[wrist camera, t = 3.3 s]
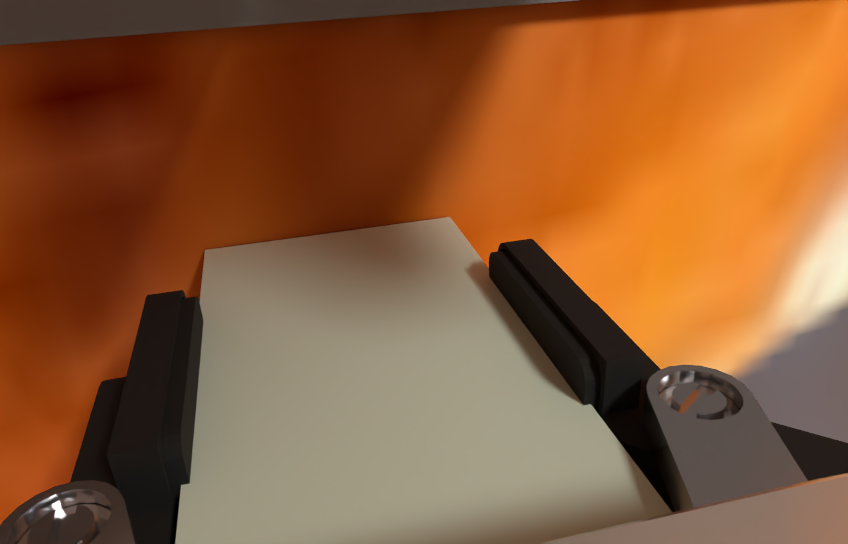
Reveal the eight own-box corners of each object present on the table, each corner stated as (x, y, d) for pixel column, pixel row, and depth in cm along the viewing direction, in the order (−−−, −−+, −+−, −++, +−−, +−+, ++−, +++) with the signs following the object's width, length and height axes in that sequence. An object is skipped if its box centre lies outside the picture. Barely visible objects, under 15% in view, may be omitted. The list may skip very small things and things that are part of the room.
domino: (204, 250, 14) (127, 1017, 4) (449, 216, 14) (866, 770, 5) (221, 328, 14) (189, 1124, 5) (451, 292, 15) (814, 892, 6)
